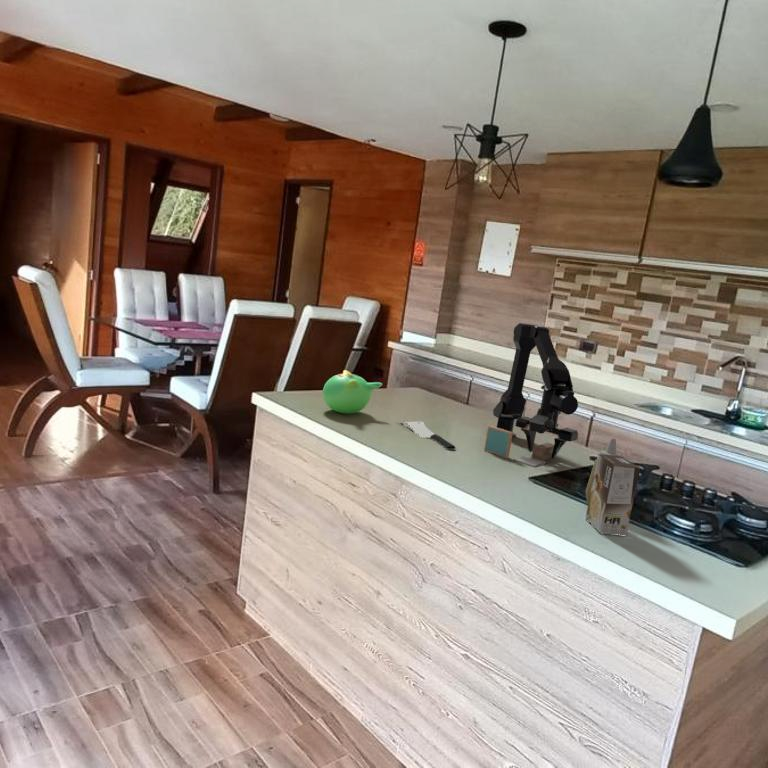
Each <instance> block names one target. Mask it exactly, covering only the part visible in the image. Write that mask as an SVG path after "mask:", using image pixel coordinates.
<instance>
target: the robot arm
mask: <svg viewBox="0 0 768 768" xmlns="http://www.w3.org/2000/svg"><path fill="white" fill-rule="evenodd" d="M512 340H513V343H514V345H515V354H514V358H513V363H512V368H511V372H510V375H509V376H510V377H509V381H508V386H507V389H506V390H505V391H504V392H503V393H502V395H501V397H500V399H499V402H498V403H497V404H496V405H495V407H494V408H493V411H492V413H493V414H492V415H493V416H494V417H495V418H498V419H497V422H496V427H497V428H500V429H503V430H507V431H510V432H513V435H512V437H516V436H517V434H516V433H514V426H515V427H517V428H520V431H522V432H523V433H524V434H525V437H526V443H527V448H528V452H530V453H533V447H534V446H535V445H534V444H535V440H536V435H537V433H538V434H541V435H542V434H544V433H545V432H547V433H550V434H553V435H557V437H555V438H554V441H553V442H554V448H553V452H552V458H551V459H552V460H554V459H555V458H556V456H557V454H558V453H559V452H560V450H561V449H562V447H563V446H564V445H565V444H566V443H567V442H574V441H577V440H578V438H579V433H578V430H577V429H572V428H569V427H564V428H558V427H559V422H558V420H559V415H561V413H562V414H565V415H566V416H567V415H569V416H570V415H573V414H574V413H575V412H576V411H577V410H578V407H579V401H578V399H577V398H576V397H575V392H574V389H573V388H574V386H573V385H574V384H573V382H572V379H571V378H572V377H571V374H570V371H569V370H570V369H568V367H567V365H566V363H564V361H562V360H560V358H559V357H558V354H557V352H556V349H555V347H554V344H553V341H552V339H551V335H550V329H549V328H548V327H546V326H538V324H529V323H521V322H520V323H518V324H517V325H515V327H514V328H513V337H512ZM535 347H536V349H537V352H538V354H539V355H538V356H539V358H540V360H541V363H542V368H541V372H540V373H541V377H542V378H541V379H542V381H543V383H544V384H543V385H541V386H540V389H542V391H543V392H542V398H541V403H540V408H538V410H537V413H536V414H535V415H533V417H528V416H523V414H524V413H525V412H524V411H525V406H526V402H527V400H526V398H525V397H524V393H523V388H524V384H525V379H526V375H527V370H528V365H529V360H530V357H531V352H532V351H533V350H534V349H535Z"/></svg>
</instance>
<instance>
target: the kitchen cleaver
mask: <svg viewBox="0 0 768 768" xmlns="http://www.w3.org/2000/svg"><path fill="white" fill-rule="evenodd" d="M404 422H405V421H404ZM405 423H408V425H410V427H411V428H413V430H414V431H415V433H417V434H419V436H420V437H419V436H418V437H419V438H421V437H422V439H429V440H433V441H434V442H435V443H437V444H439V445H440V446H442V447H444V449H445V450H447V451H455V450H456V446H455V445H454V444H452V443H451V442H449V441H447V440H446V439H444V438H443V437H442V436H440V435H438V434H436V433H434V432H433V431H431V430H430V429H429V428H428V426H426V424H425V423H424V421H422V420H421V421H419V420H418V421H406V422H405ZM415 433H414V434H415Z"/></svg>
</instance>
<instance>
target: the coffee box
mask: <svg viewBox="0 0 768 768" xmlns="http://www.w3.org/2000/svg"><path fill="white" fill-rule="evenodd" d="M596 457H597V458H596V459H597V462H596V467H595V472H594V477H593V482H592V488H591V493H590V498H589V503H588V506H587V509H586V514H585V518H586V519H587V520H588V521H589V522H590V523H591V524H592V525H593V526H594V527H593V526H592V525H591V524H590V523H589V522H588V521H587V520H586V519H585V520H586V521H587V522H588V523H589V524H590V525H591V526H592V527H593V529H595V528H596V529H597V530H598V531H599V532H600V533H602V534H601V535H604V534H618V535H619V534H620V535H626V536H627V533H628V529H629V523H630V518H631V514H632V513H631V512H632V508H633V504H634V499H635V494H636V489H637V485H638V479H639V476H640V471H641V470H640V469H641V468H640V467H639V466H637V465H636V464H634V463H633V462H631V461H630V460H628V459H627V458H625V457H624V456H621V455H620V456H614V455H602V454H600V453H598V454H597V456H596ZM596 529H595V530H596ZM597 530H596V531H597ZM598 531H597V532H598ZM599 532H598V533H599ZM600 533H599V534H600Z"/></svg>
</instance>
